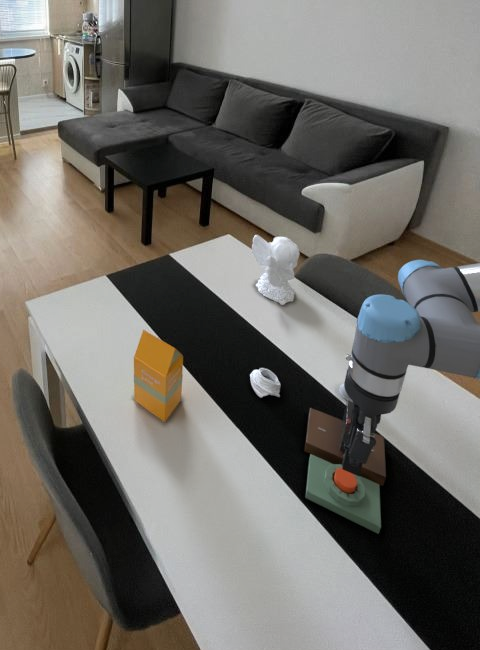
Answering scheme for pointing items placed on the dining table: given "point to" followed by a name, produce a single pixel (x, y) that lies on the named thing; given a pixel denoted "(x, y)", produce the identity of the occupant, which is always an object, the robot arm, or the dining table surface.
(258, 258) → the cherub figurine
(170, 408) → the orange juice
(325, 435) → the panel
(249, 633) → the dining table surface
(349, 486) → the button
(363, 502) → the button block
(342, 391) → the rook chess piece
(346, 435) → the red-tipped grey box
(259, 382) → the white folded cloth ring
